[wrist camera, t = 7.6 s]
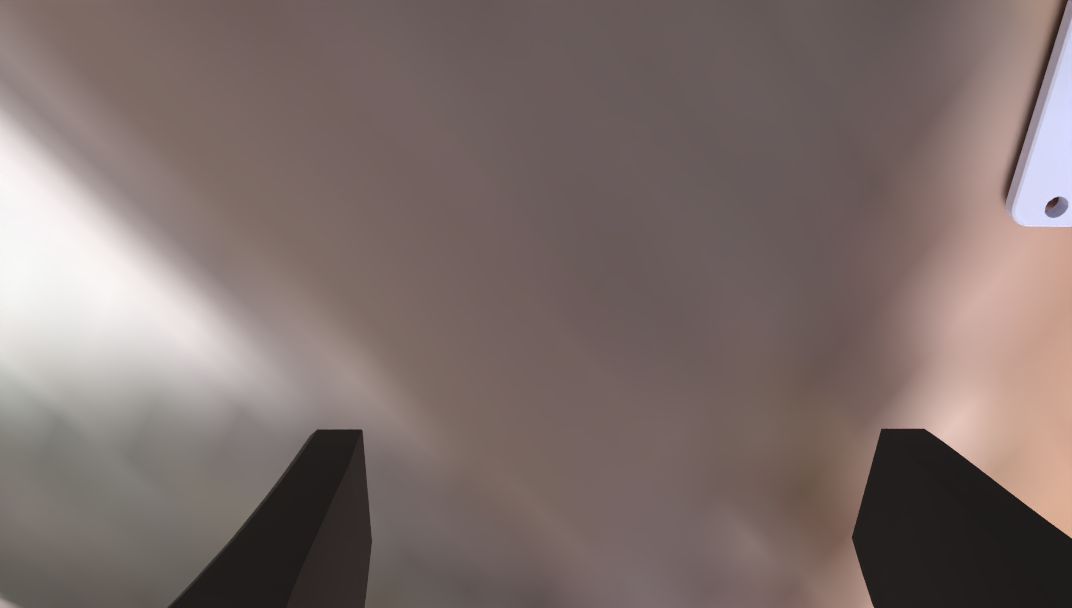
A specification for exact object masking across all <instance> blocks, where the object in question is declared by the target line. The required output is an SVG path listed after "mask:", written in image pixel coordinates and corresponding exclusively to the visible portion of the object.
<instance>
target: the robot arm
mask: <svg viewBox="0 0 1072 608" xmlns="http://www.w3.org/2000/svg"><path fill="white" fill-rule="evenodd" d="M1055 197H1059V201H1058V202H1057V204H1056V206H1054V207H1053V208H1052V209H1050V210H1047V211H1045V207H1046V205H1047V203H1048V202H1049V201H1050V200H1052V199H1053V198H1055ZM1005 209H1006V211H1007V214H1008V215H1009V216H1010V217H1011V218H1012V219H1013V220H1015V221H1016V222H1017V223H1018V224H1020V225H1024V226H1053V227H1072V0H1068V2H1067V6H1066V9H1065V12H1064V15H1063V19H1062V22H1061V25H1060V28H1059V32H1058V35H1057V38H1056V41H1055V44H1054V48H1053V51H1052V54H1051V57H1050V61H1049V64H1048V67H1047V70H1046V74H1045V77H1044V80H1043V83H1042V87H1041V90H1040V93H1039V96H1038V100H1037V103H1036V106H1035V109H1034V112H1033V116H1032V119H1031V122H1030V125H1029V129H1028V132H1027V135H1026V138H1025V142H1024V145H1023V148H1022V151H1021V155H1020V158H1019V161H1018V164H1017V168H1016V171H1015V174H1014V177H1013V181H1012V184H1011V187H1010V190H1009V193H1008V197H1007V200H1006V208H1005ZM852 540H853V543H854V546H855V550H856V553H857V557H858V560H859V563H860V567H861V570H862V573H863V577H864V580H865V583H866V586H867V589H868V592H869V595H870V598H871V601H872V604H873V606H874V608H1072V538H1070V537H1069V536H1068V535H1066V534H1065V533H1063V532H1062V531H1061V530H1059V529H1058V528H1056V527H1055V526H1054V525H1052V524H1051V523H1050V522H1048V521H1047V520H1046V519H1044V518H1043V517H1042V516H1040V515H1039V514H1038V513H1036V512H1035V511H1034V510H1032V509H1031V508H1030V507H1028V506H1027V505H1026V504H1024V503H1023V502H1022V501H1020V500H1019V499H1018V498H1016V497H1015V496H1014V495H1012V494H1011V493H1010V492H1008V491H1007V490H1006V489H1005V488H1003V487H1002V486H1001V485H999V484H998V483H997V482H995V481H994V480H993V479H992V478H990V477H989V476H988V475H986V474H985V473H984V472H982V471H981V470H980V469H979V468H977V467H976V466H975V465H973V464H972V463H971V462H969V461H968V460H967V459H965V458H964V457H963V456H961V455H960V454H959V453H958V452H956V451H955V450H954V449H952V448H951V447H950V446H948V445H947V444H945V443H944V442H943V441H941V440H940V439H939V438H937V437H936V436H934V435H933V434H931V433H930V432H928V431H927V430H925V429H881V432H880V436H879V440H878V444H877V447H876V451H875V455H874V458H873V462H872V466H871V469H870V473H869V477H868V480H867V484H866V488H865V491H864V495H863V499H862V503H861V506H860V510H859V514H858V517H857V521H856V525H855V528H854V532H853V536H852ZM371 544H372V537H371V526H370V514H369V502H368V491H367V479H366V467H365V455H364V444H363V432H362V430H316V431H315V432H314V433H313V434H312V435H311V436H310V437H309V438H308V440H307V441H306V443H305V444H304V445H303V447H302V448H301V450H300V451H299V453H298V454H297V455H296V457H295V458H294V460H293V461H292V462H291V464H290V465H289V467H288V468H287V469H286V471H285V472H284V473H283V475H282V476H281V478H280V479H279V480H278V481H277V483H276V484H275V485H274V487H273V488H272V489H271V491H270V492H269V493H268V495H267V496H266V497H265V499H264V500H263V501H262V502H261V503H260V505H259V506H258V507H257V508H256V510H255V511H254V512H253V513H252V514H251V516H250V517H249V518H248V519H247V521H246V522H245V523H244V524H243V526H242V527H241V528H240V529H239V530H238V532H237V533H236V534H235V535H234V536H233V538H232V539H231V540H230V541H229V542H228V543H227V545H226V546H225V547H224V548H223V549H222V550H221V551H220V552H219V553H218V555H217V556H216V557H215V558H214V559H213V560H212V561H211V562H210V563H209V564H208V565H207V567H206V568H205V569H204V570H203V571H202V572H201V573H200V574H199V575H198V576H197V578H196V579H195V580H194V581H193V582H192V583H191V584H190V585H189V586H188V587H187V588H186V589H185V590H184V591H183V592H182V593H181V594H180V595H179V596H178V597H177V598H176V600H175V601H174V602H173V603H172V604H171V605H170V606H169V607H168V608H364V607H365V598H366V590H367V581H368V572H369V563H370V554H371Z"/></svg>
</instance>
